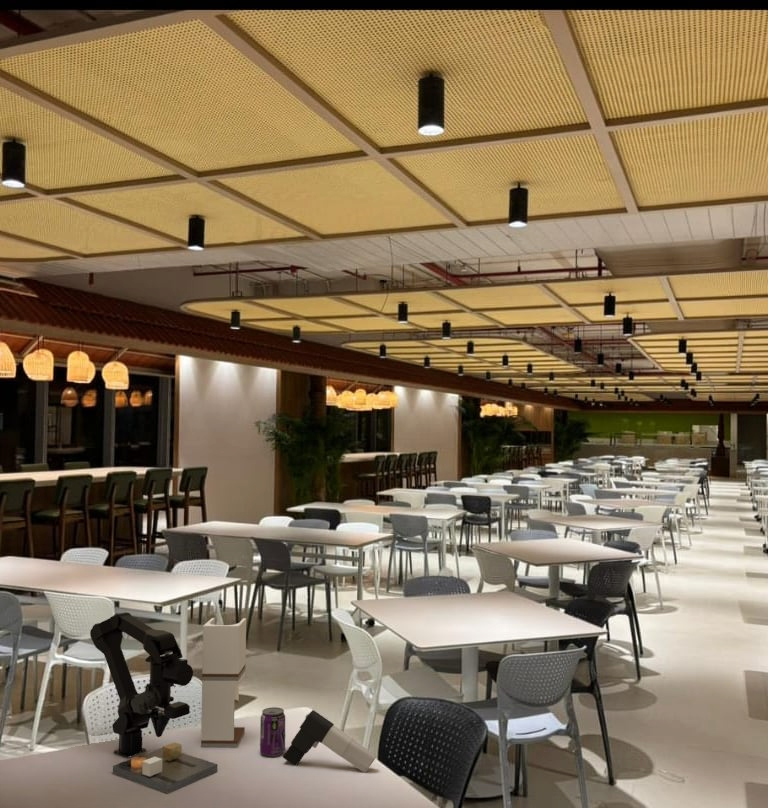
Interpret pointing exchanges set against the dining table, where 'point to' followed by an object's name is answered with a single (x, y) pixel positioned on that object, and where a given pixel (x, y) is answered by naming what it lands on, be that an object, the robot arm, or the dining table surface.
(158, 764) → the beige block
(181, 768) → the plate
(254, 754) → the dining table surface
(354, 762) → the handheld device
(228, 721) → the beige tower stand
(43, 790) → the dining table surface
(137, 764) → the orange push button
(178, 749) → the tan block
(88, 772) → the dining table surface
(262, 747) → the beverage can
